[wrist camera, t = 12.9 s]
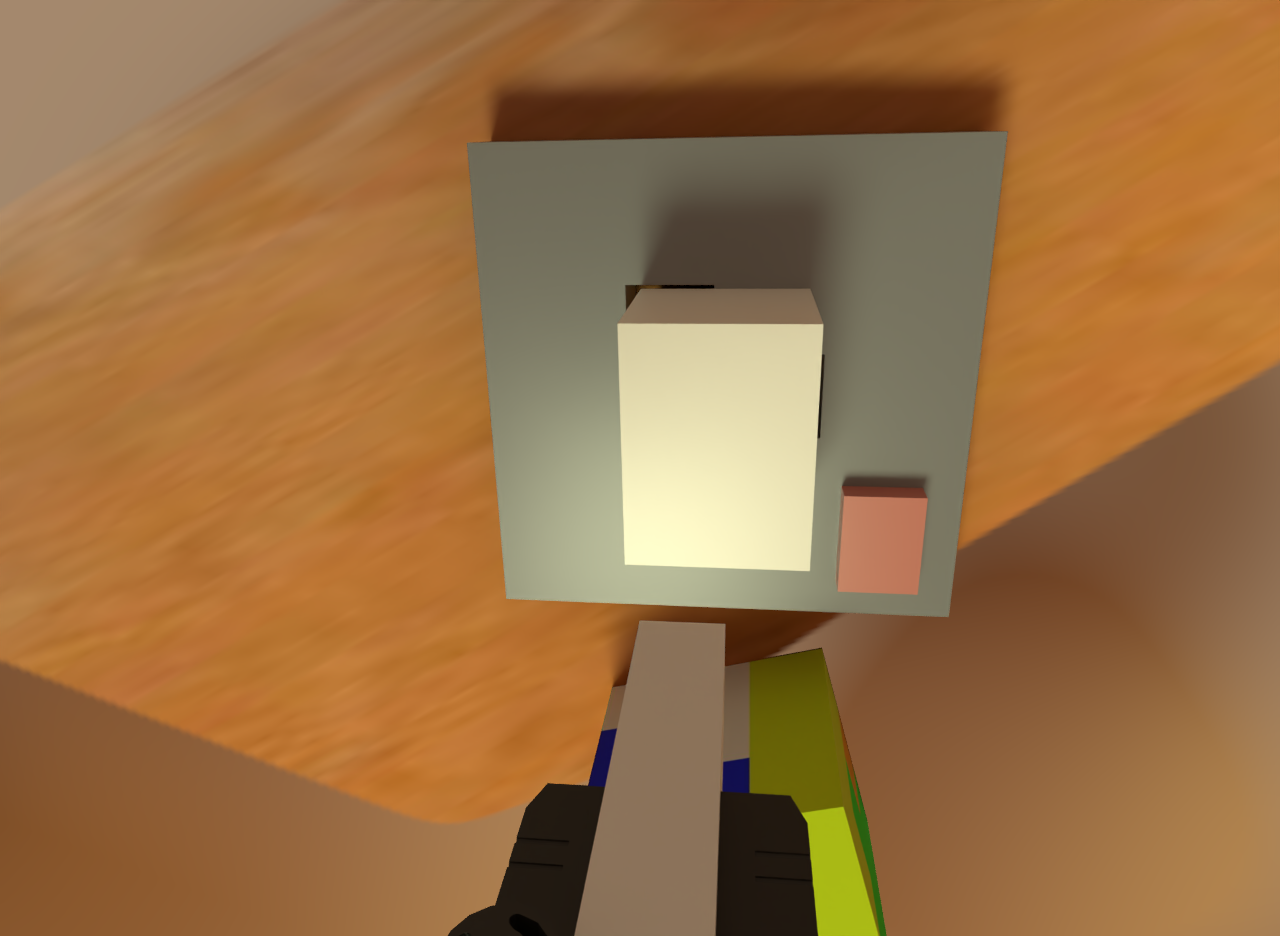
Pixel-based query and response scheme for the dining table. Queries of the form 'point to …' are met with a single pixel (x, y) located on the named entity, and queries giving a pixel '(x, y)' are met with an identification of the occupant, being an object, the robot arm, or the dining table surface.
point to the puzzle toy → (793, 775)
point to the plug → (719, 427)
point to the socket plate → (740, 259)
